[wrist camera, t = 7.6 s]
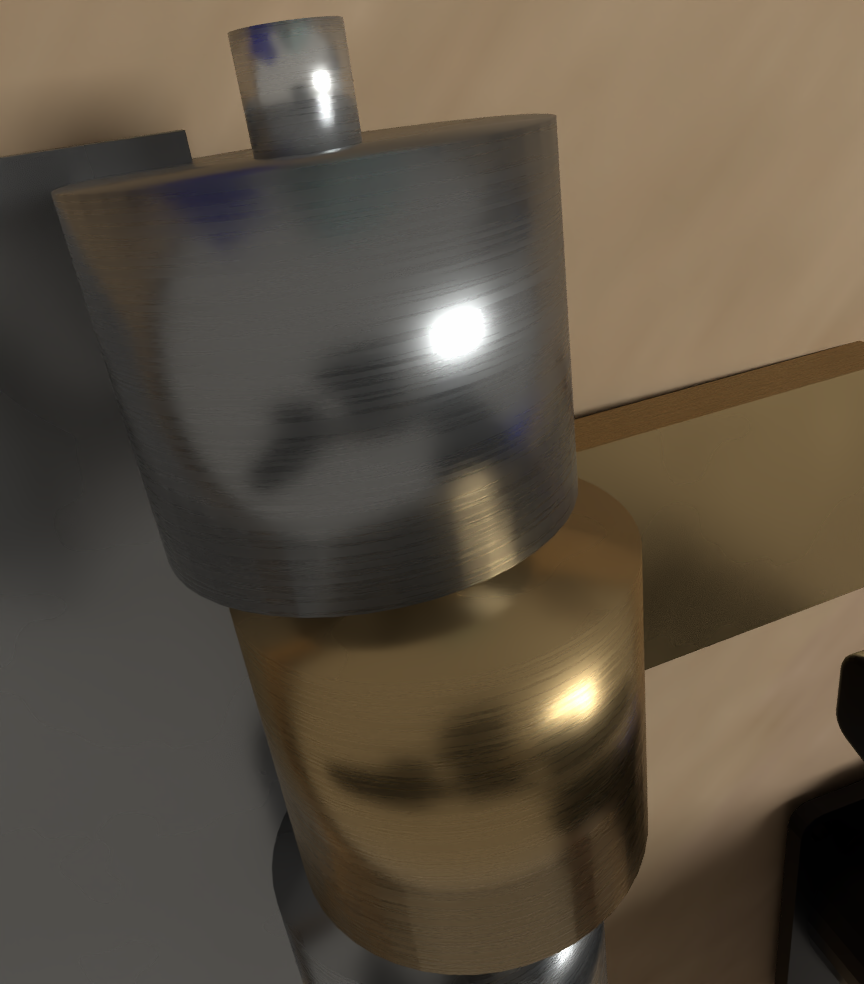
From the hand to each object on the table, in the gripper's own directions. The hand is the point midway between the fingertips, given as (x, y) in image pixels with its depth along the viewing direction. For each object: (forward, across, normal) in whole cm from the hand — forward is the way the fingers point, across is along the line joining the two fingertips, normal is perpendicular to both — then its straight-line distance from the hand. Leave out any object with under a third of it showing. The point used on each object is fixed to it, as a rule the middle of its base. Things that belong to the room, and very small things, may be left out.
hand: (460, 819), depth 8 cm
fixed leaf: (+5, +3, 0) cm, 5 cm away
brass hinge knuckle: (+4, -3, 0) cm, 6 cm away
